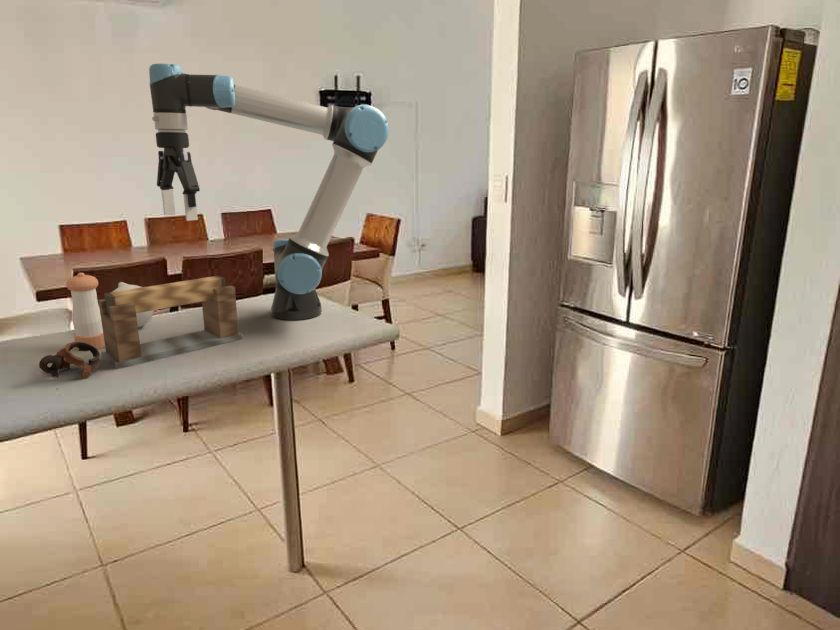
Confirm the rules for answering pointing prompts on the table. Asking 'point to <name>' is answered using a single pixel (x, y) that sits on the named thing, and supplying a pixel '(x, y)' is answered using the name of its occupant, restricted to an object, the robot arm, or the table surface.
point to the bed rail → (166, 294)
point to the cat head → (141, 317)
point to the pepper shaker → (86, 310)
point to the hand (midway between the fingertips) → (180, 217)
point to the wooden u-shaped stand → (129, 351)
